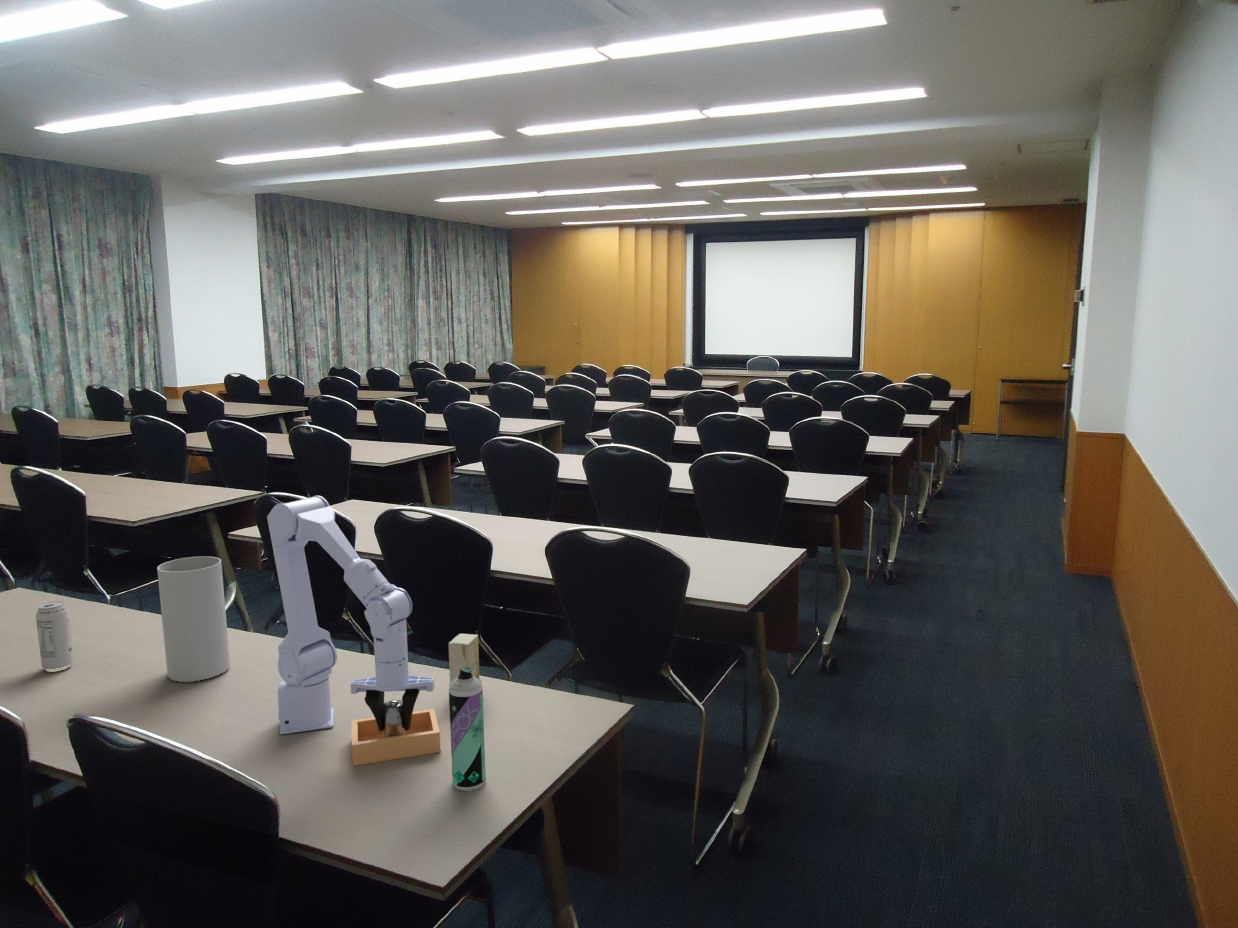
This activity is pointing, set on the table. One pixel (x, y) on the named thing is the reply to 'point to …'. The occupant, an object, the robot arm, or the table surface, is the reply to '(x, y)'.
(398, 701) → the cell
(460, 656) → the skincare box
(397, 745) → the trough
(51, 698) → the table surface
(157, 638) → the table surface
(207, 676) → the cylinder vase
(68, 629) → the energy drink can
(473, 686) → the spray can
